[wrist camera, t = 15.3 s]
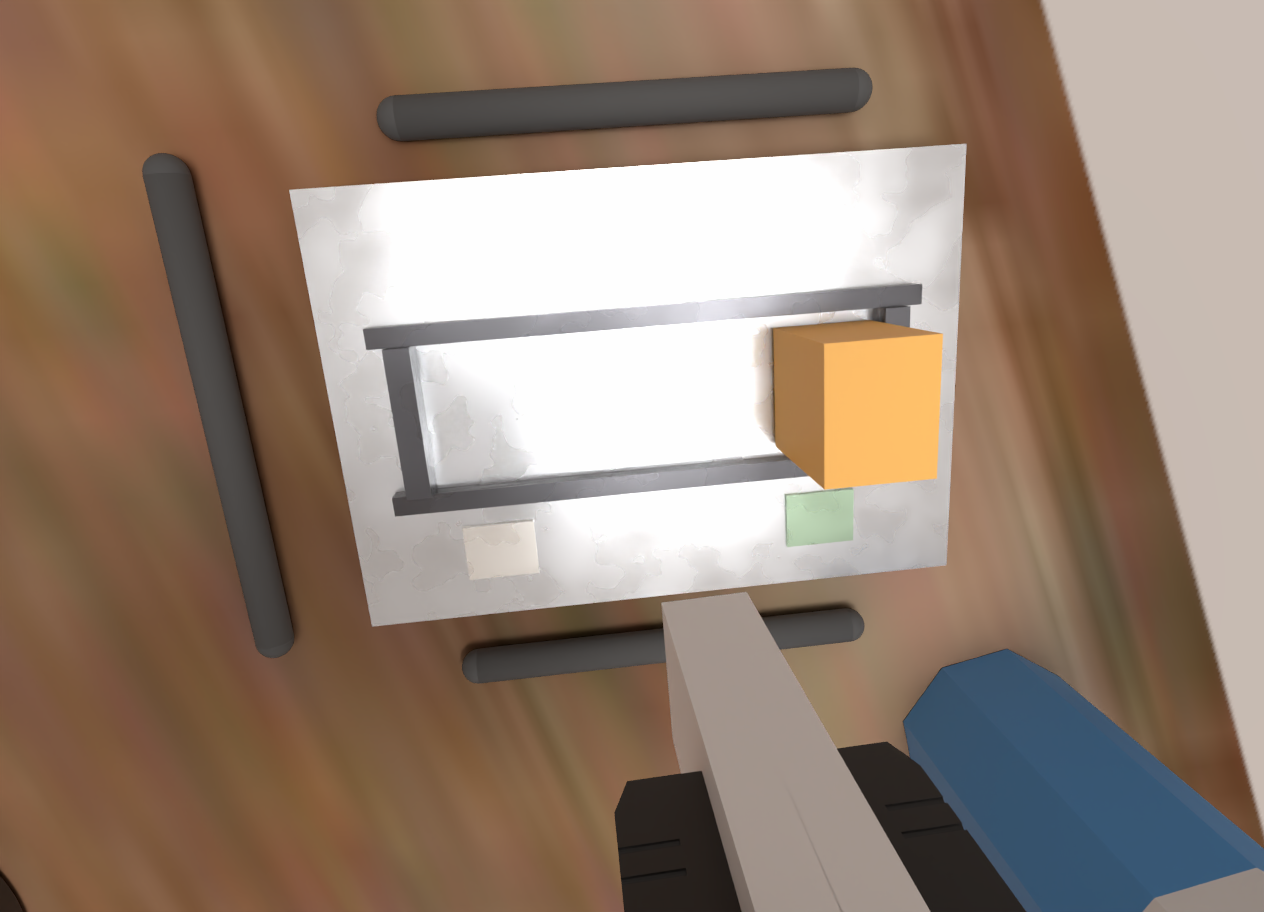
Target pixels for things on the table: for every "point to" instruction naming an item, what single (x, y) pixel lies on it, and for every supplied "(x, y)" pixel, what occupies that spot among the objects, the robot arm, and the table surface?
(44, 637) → the table surface
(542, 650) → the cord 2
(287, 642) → the rounded gray dowel
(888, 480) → the matte orange cube
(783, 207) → the panel
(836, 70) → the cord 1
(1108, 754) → the water bottle
